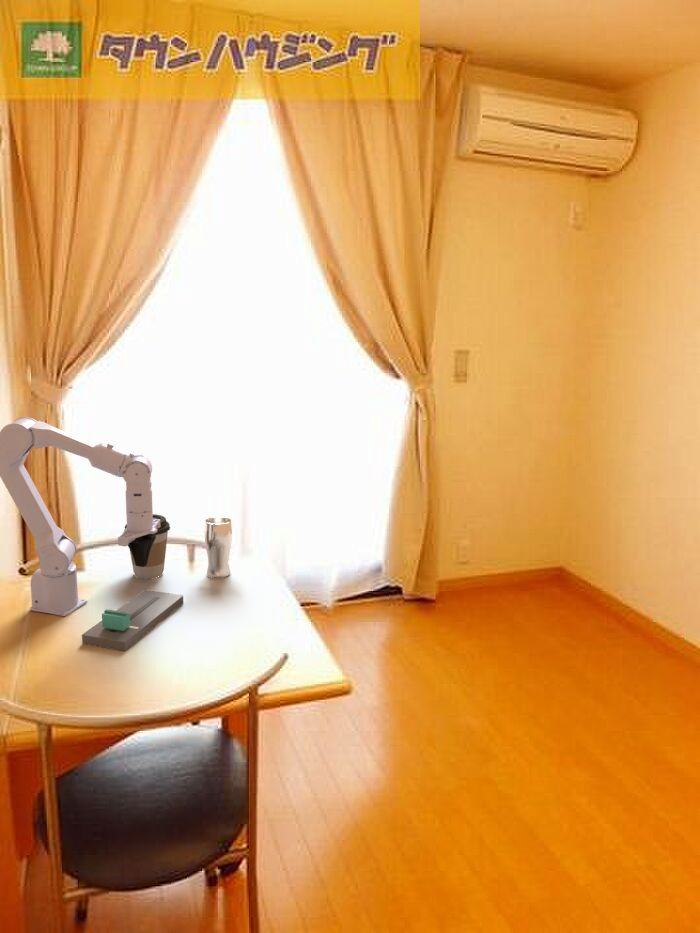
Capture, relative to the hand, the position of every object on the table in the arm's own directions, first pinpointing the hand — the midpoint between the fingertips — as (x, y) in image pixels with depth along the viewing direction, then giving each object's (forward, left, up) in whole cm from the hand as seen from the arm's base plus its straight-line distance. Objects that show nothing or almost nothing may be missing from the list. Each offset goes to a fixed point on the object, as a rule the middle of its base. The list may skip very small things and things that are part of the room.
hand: (141, 565), depth 153 cm
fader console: (+4, -9, -9) cm, 14 cm away
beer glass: (+9, +22, -10) cm, 26 cm away
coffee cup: (-8, +16, -10) cm, 20 cm away
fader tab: (+4, -16, -7) cm, 18 cm away
